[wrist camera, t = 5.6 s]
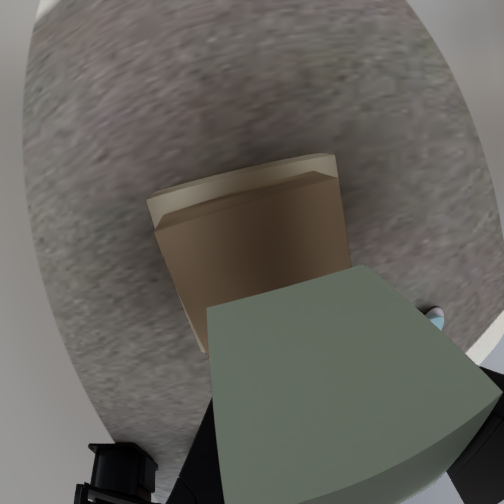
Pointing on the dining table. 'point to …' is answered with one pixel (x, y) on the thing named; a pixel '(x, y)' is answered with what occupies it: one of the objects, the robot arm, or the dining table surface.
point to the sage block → (338, 394)
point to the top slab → (254, 242)
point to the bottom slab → (234, 187)
